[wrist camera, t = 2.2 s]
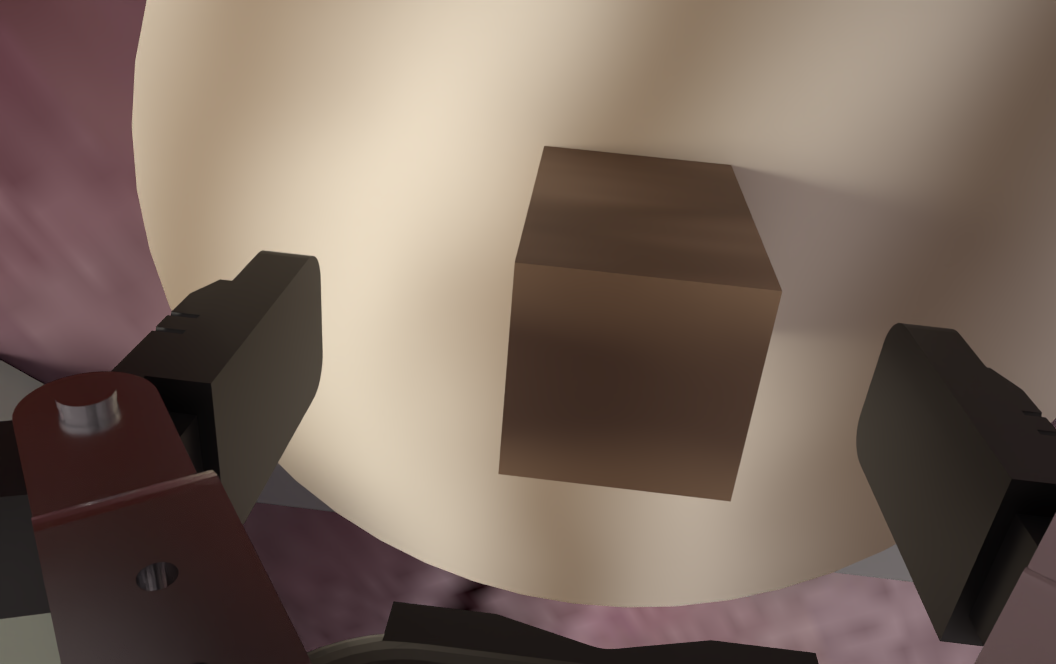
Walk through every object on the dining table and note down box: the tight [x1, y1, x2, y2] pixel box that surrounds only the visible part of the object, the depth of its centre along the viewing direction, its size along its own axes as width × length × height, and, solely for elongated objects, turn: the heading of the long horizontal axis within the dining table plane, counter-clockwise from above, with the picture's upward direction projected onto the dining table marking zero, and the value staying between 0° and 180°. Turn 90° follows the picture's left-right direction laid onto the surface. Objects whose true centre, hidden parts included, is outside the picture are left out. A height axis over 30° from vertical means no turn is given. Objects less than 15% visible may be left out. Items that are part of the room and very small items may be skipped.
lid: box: [132, 0, 1056, 607], centre depth 14 cm, size 18×18×6 cm
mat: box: [256, 463, 913, 582], centre depth 16 cm, size 16×16×1 cm
